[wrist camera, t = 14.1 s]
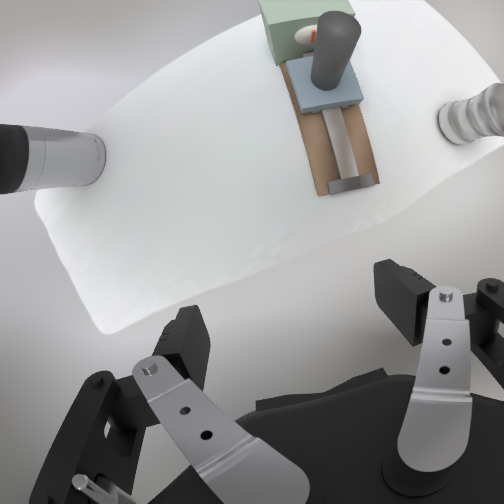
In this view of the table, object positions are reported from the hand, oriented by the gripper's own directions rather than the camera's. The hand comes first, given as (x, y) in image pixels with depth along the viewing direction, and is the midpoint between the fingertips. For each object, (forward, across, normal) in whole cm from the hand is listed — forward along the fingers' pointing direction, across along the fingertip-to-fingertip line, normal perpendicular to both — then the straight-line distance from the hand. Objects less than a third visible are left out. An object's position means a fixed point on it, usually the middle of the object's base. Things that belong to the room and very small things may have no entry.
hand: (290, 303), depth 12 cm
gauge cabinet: (+28, -12, -23) cm, 38 cm away
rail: (+27, -13, -10) cm, 32 cm away
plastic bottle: (+24, -32, -8) cm, 41 cm away
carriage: (+26, -12, -15) cm, 32 cm away
